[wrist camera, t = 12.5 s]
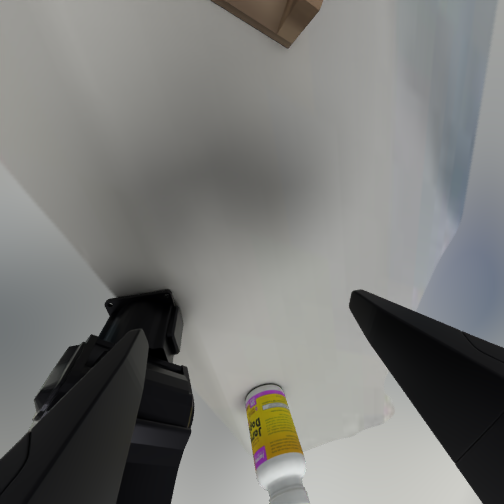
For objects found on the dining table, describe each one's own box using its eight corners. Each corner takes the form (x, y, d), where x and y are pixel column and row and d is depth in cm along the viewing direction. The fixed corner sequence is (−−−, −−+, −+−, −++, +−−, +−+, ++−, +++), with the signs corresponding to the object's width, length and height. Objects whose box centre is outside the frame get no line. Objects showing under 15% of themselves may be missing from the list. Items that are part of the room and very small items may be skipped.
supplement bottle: (249, 383, 33) (272, 508, 21) (287, 381, 34) (327, 494, 23) (240, 408, 35) (257, 530, 24) (276, 405, 37) (307, 517, 26)
